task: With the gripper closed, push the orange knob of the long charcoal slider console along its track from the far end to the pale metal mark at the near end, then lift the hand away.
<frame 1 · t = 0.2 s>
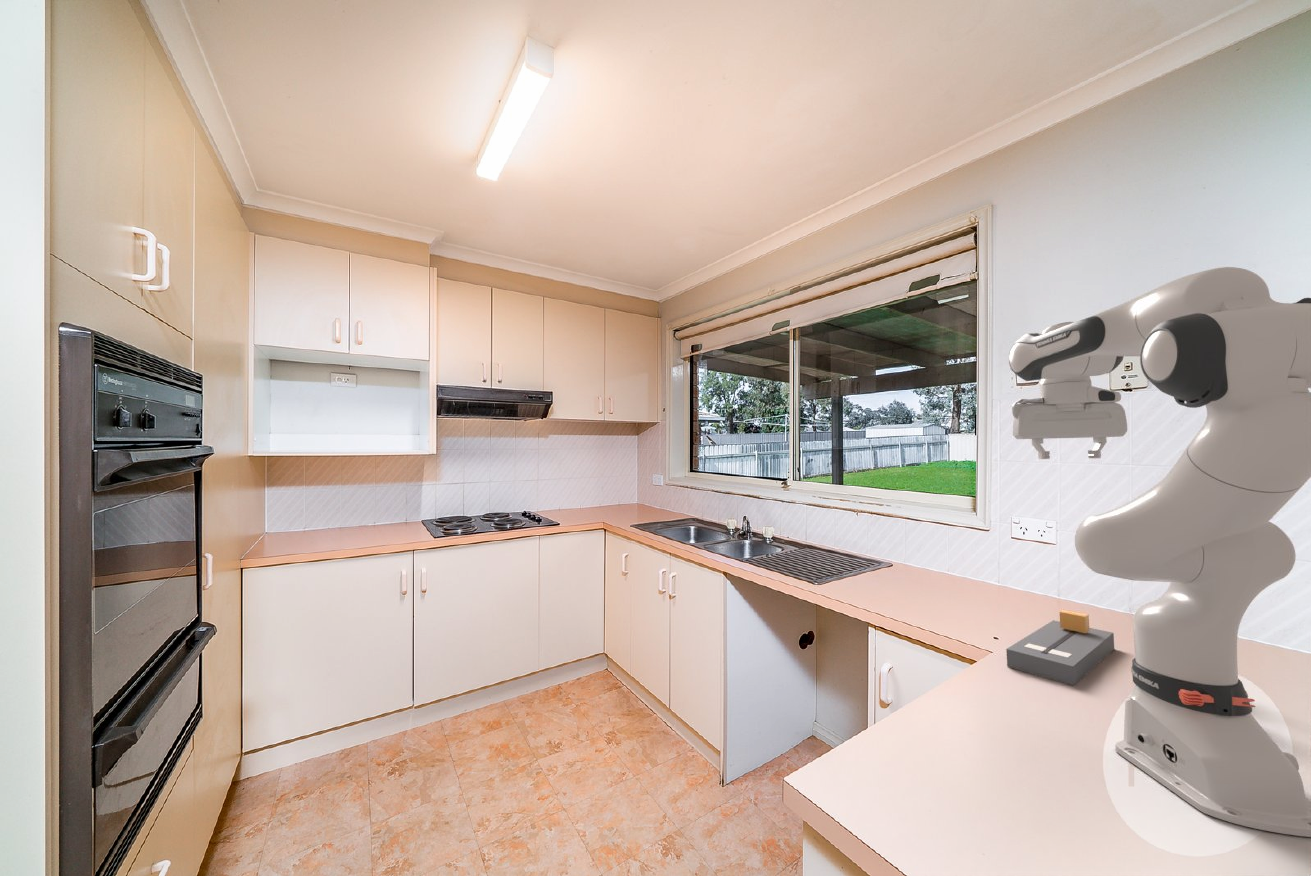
hand: (1069, 458, 108), 48 cm above the table, tool pointing down, fingers open, 8 cm apart
fader console: (1062, 657, 116), on the table
fader knob: (1074, 621, 122), point 7 cm above the table, slide at 0.0 cm
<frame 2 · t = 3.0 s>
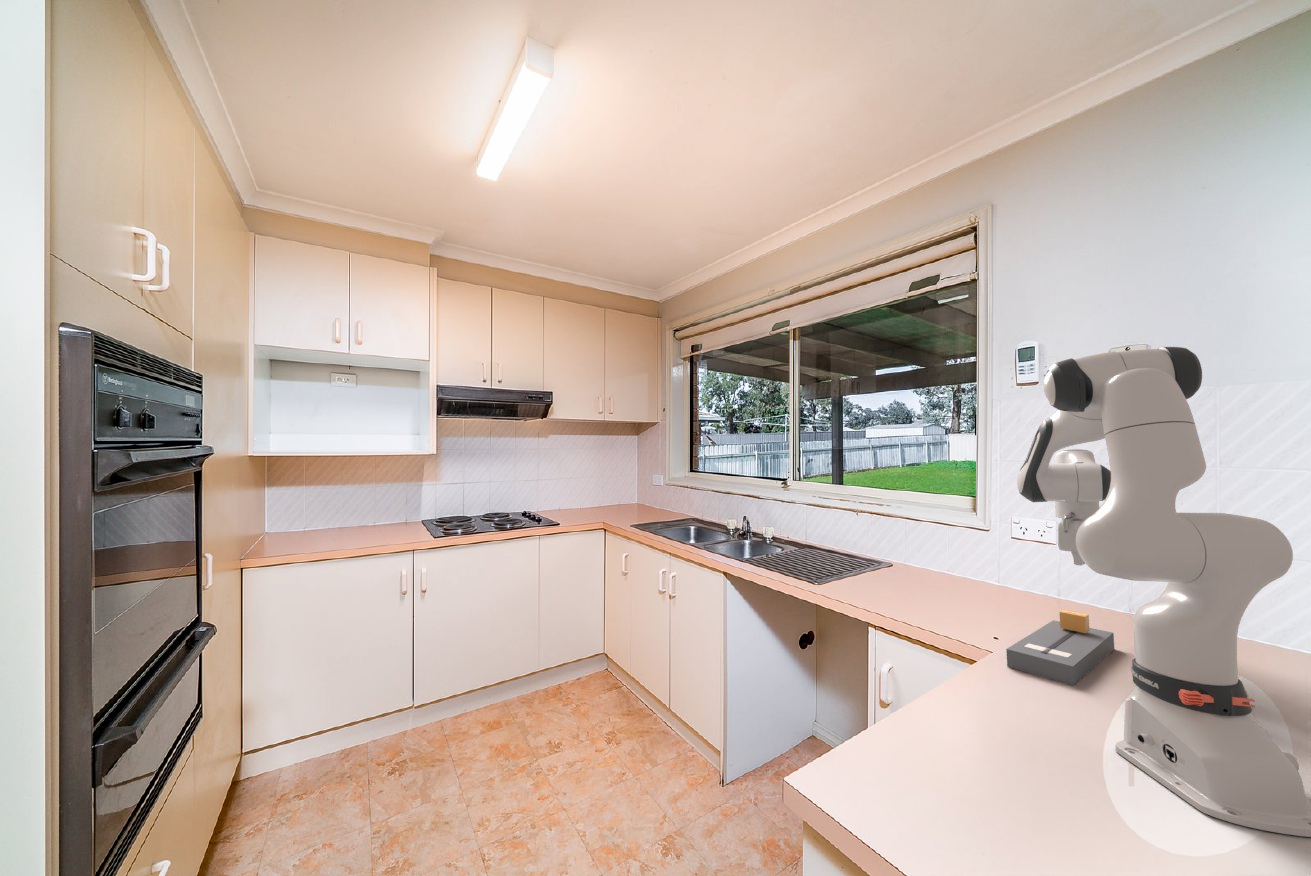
hand: (1079, 564, 127), 20 cm above the table, tool pointing down, fingers closed
nothing on the table moved.
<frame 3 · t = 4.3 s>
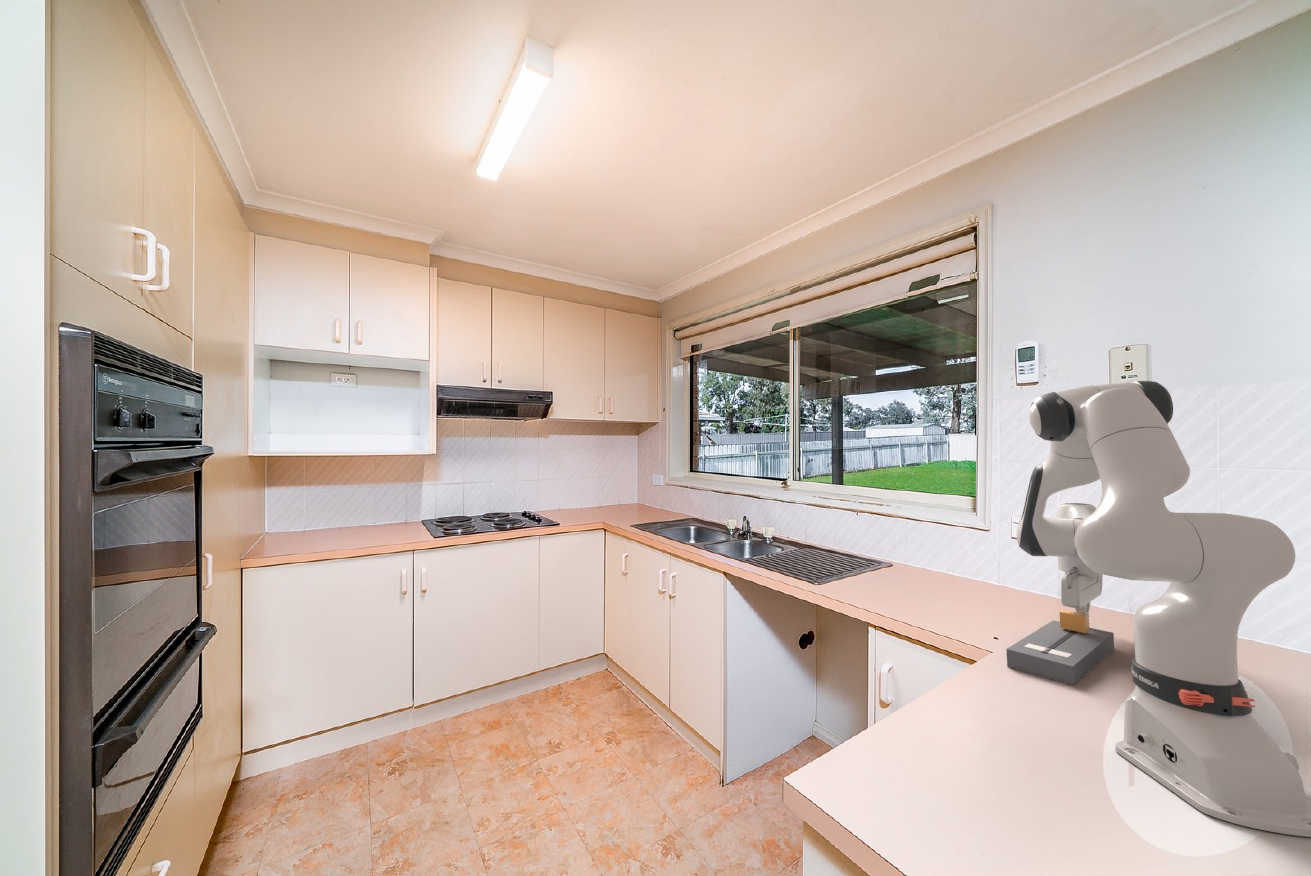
hand: (1083, 618, 126), 6 cm above the table, tool pointing down, fingers closed
nothing on the table moved.
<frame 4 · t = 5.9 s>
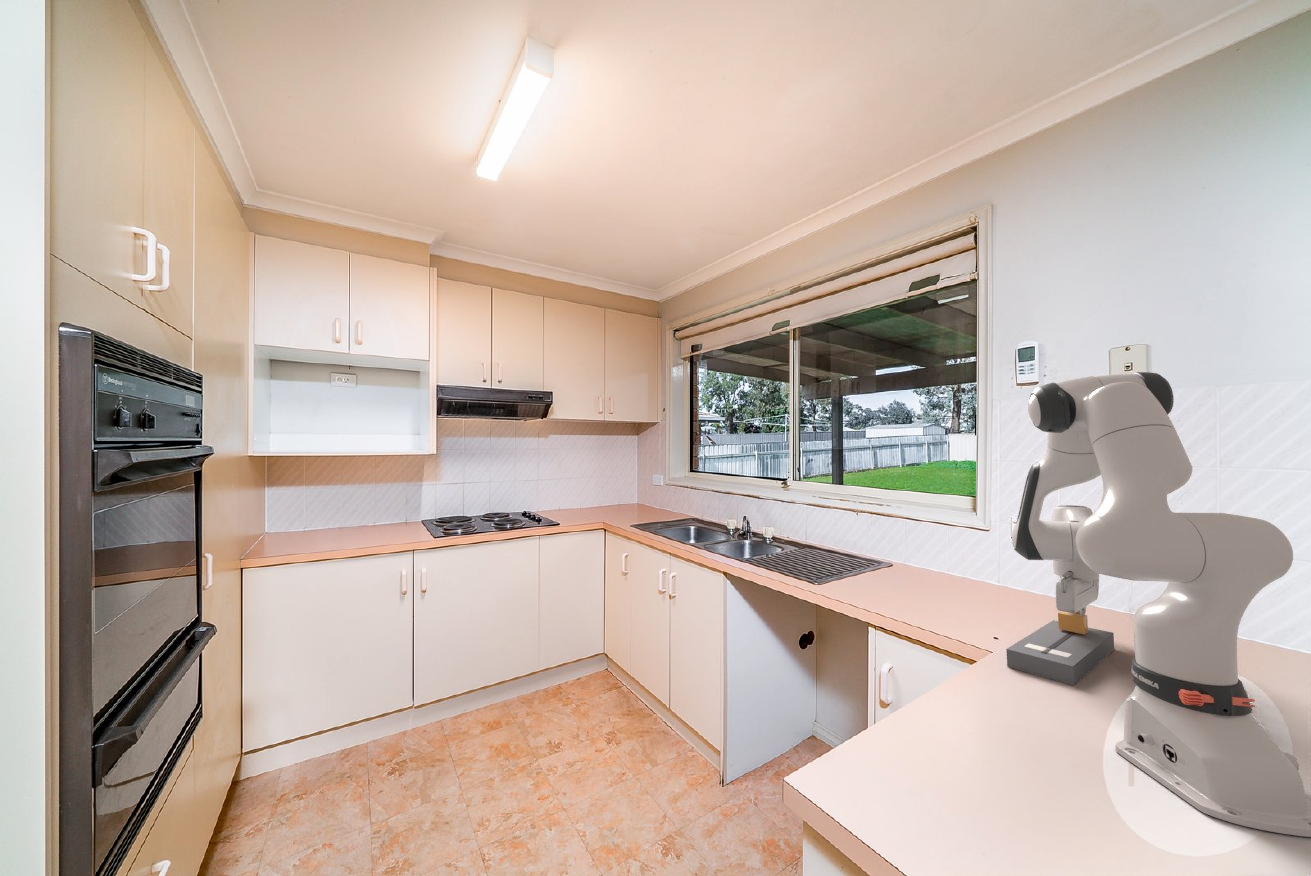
hand: (1078, 623, 123), 5 cm above the table, tool pointing down, fingers closed
fader knob: (1072, 622, 121), point 7 cm above the table, slide at 1.2 cm, touching gripper
everything else where it was.
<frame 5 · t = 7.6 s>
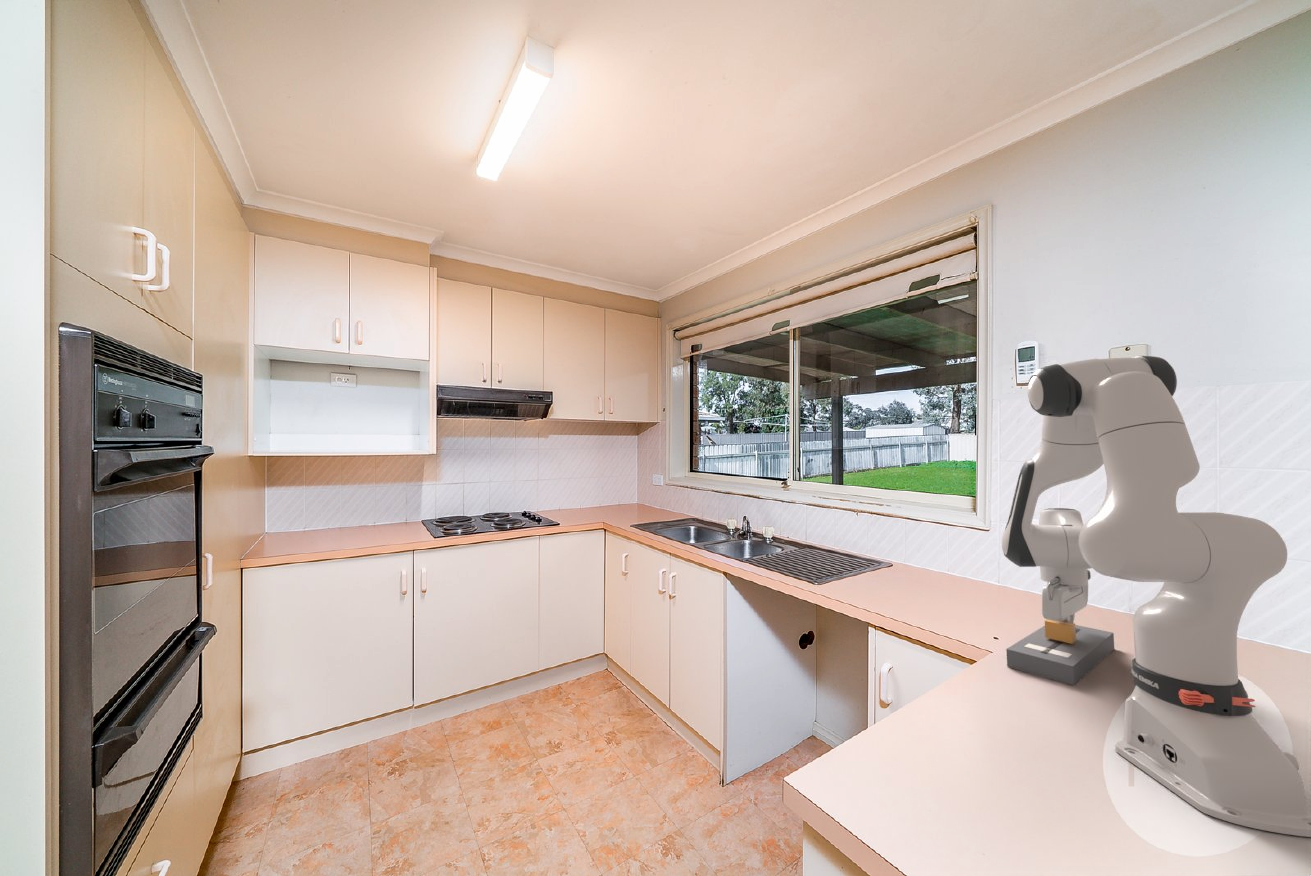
hand: (1066, 632, 118), 5 cm above the table, tool pointing down, fingers closed
fader knob: (1060, 630, 116), point 7 cm above the table, slide at 10.9 cm, touching gripper
everything else where it was.
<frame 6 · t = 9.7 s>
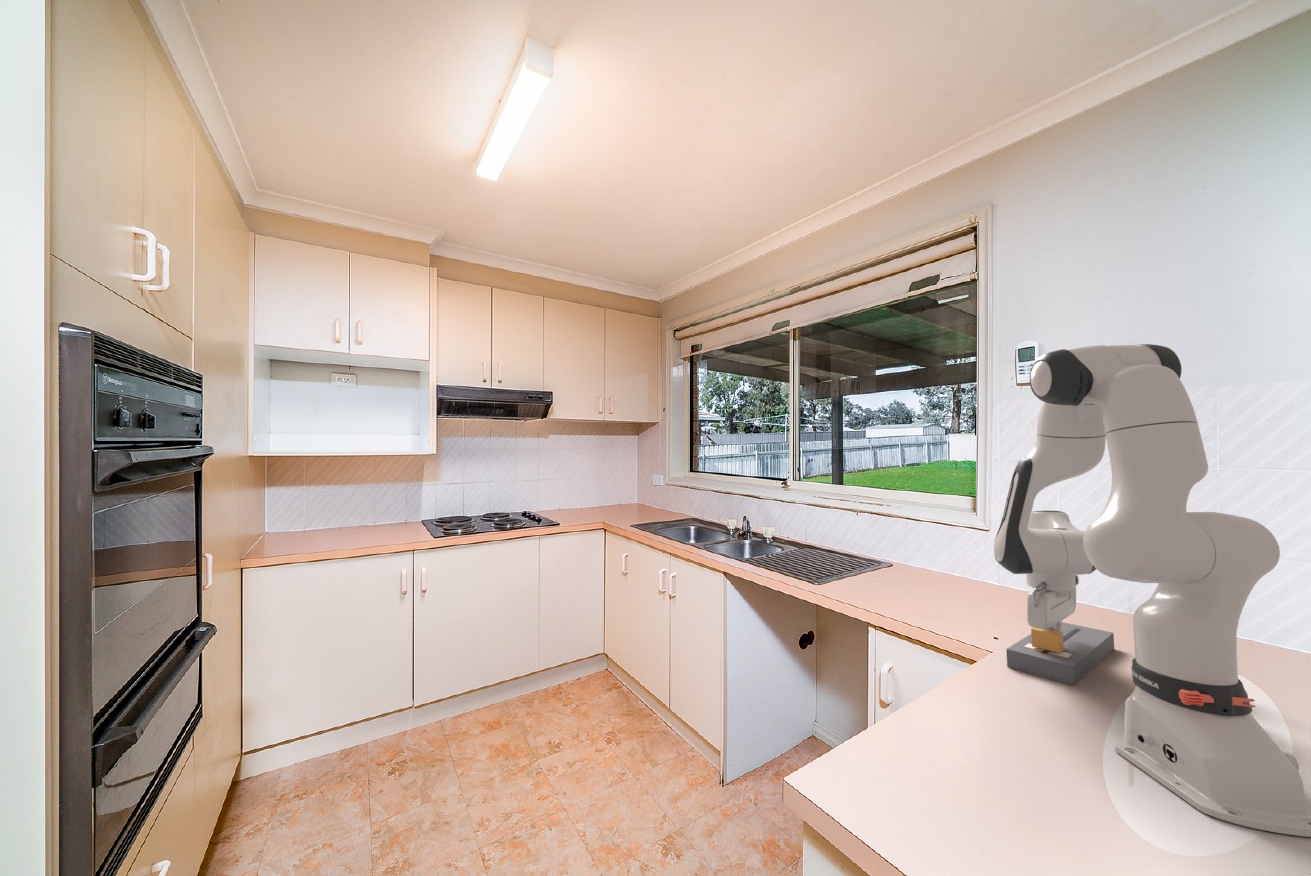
hand: (1053, 639, 113), 6 cm above the table, tool pointing down, fingers closed
fader knob: (1047, 638, 111), point 7 cm above the table, slide at 19.7 cm, touching gripper
everything else where it was.
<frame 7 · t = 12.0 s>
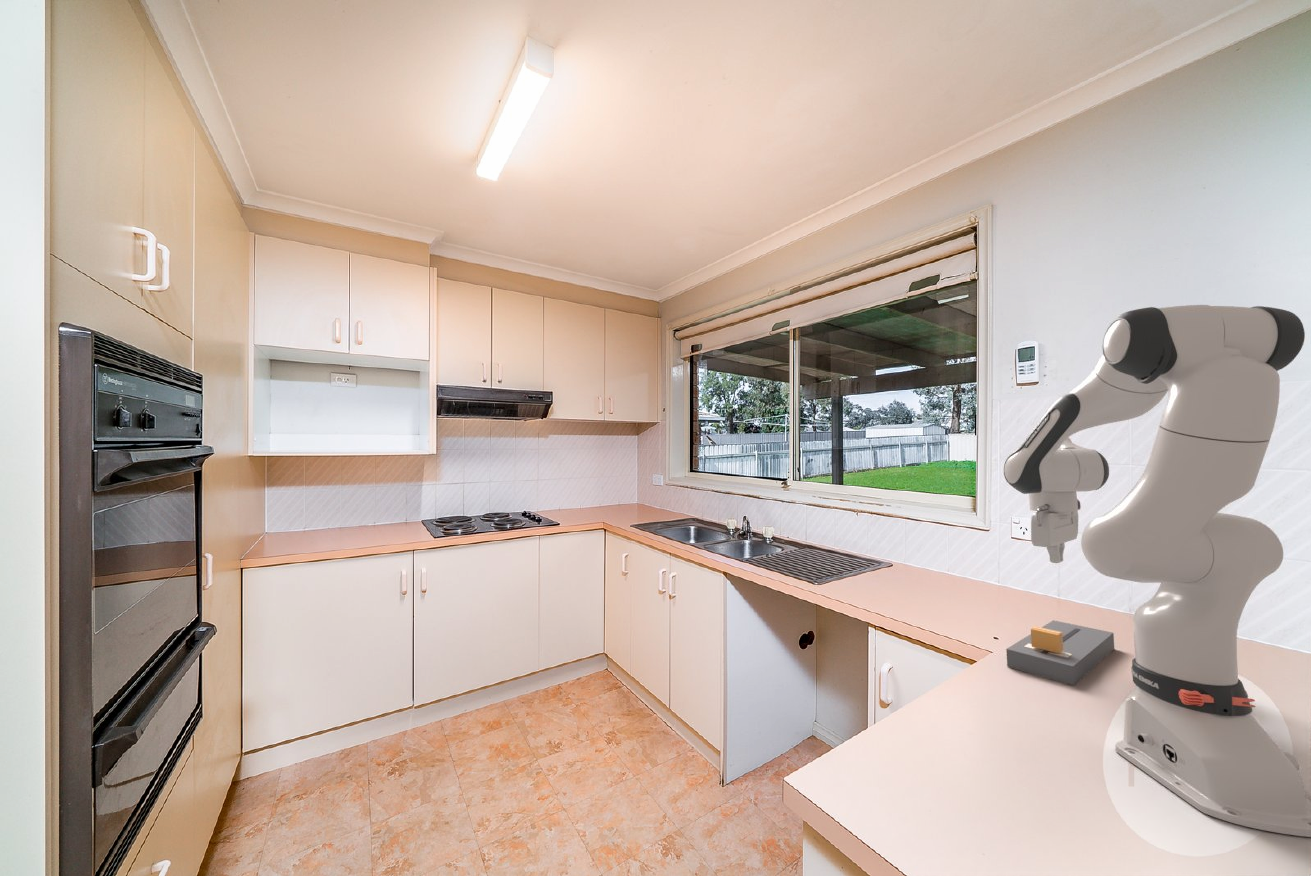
hand: (1056, 562, 115), 23 cm above the table, tool pointing down, fingers closed
fader knob: (1046, 639, 110), point 7 cm above the table, slide at 20.0 cm
everything else where it was.
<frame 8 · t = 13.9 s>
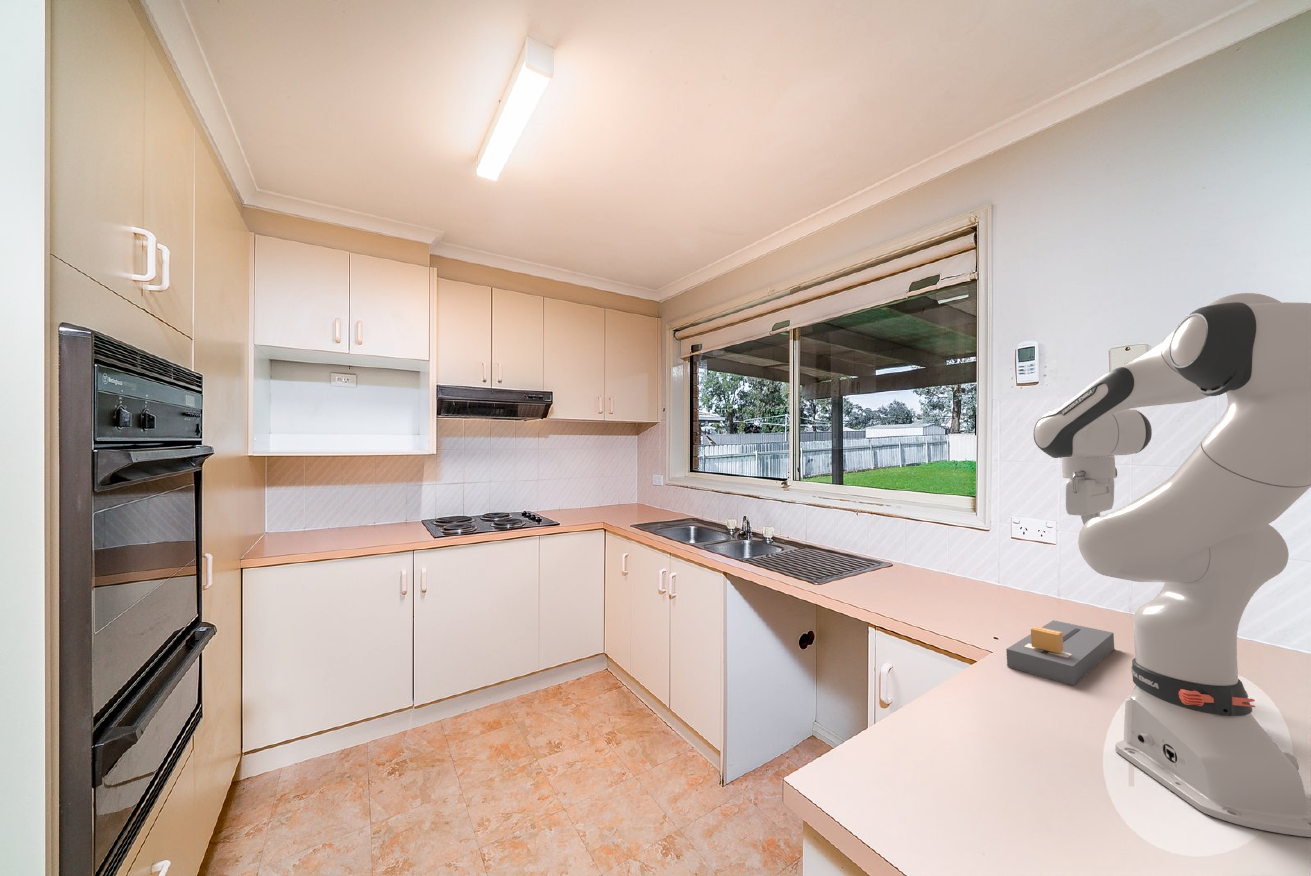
hand: (1091, 533, 107), 31 cm above the table, tool pointing down, fingers closed
nothing on the table moved.
at the end: fader knob slide at 20.0 cm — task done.
